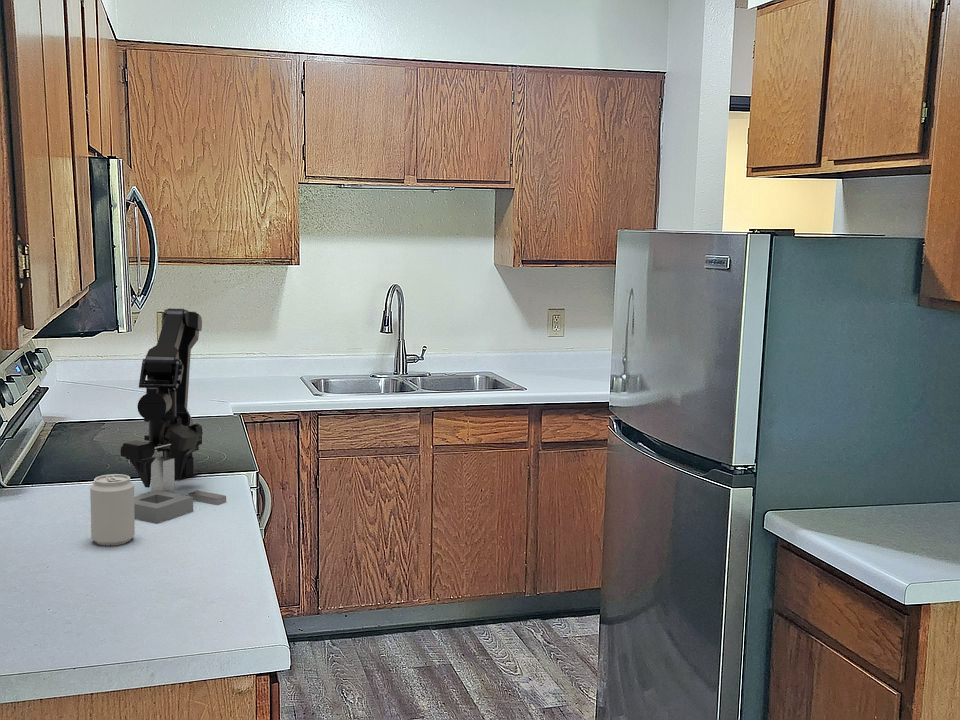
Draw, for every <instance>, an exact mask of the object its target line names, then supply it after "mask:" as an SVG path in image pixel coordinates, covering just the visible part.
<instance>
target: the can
mask: <svg viewBox="0 0 960 720" xmlns="http://www.w3.org/2000/svg"><path fill="white" fill-rule="evenodd" d="M93 481H94V482H93V483H92V485H91V486H90V488H89V489H90V490H89V491H90V492H89V493H90V495H89V496H90V534H91V535H90V538H91V540H92V541H94V542H95V543H96V544H97V545H100V546H105V545H106V547H107V546H108V547H109V546H110V545H111V546H119V545H125V544H126V542H127V543H129V542H130V541H131V540H132V539H133V538H134V536H135V533H136V531H135V530H136V526H135V520H136V519H135V515H134V496H135V484H134V483H133V482H132V481H131V477H130V475H127V474H122V473H120V474H119V473H112V474H104V475H100V476H96V477H95V478H94V479H93ZM128 541H129V542H128Z"/></svg>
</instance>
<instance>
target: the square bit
mask: <svg viewBox="0 0 960 720" xmlns="http://www.w3.org/2000/svg"><path fill="white" fill-rule="evenodd" d="M155 458H156V459H155V460H154V461H153V462H152V464H151V483H150V492H151V491H155V490H159V491H164V492H169V493H175V494H176V492H175V490H176V489H175V480H176V479H175V478H174V458H169V457H163V455H162V456H159V457H155Z"/></svg>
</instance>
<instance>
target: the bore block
mask: <svg viewBox="0 0 960 720" xmlns="http://www.w3.org/2000/svg"><path fill="white" fill-rule="evenodd" d="M192 512H194V501H193V497H191V496H188V495H184V494H180V493H179V494H178V493H176V492H175V493H169V492H164V491H159V490H155V491H151V490H150V491H148V492H146V493H142V494H137V495H134V515H135V520H139V521H142V522H143V521H144V522H148V523H154V524H159V523H162V522H166V521H168V520H171V519H175V518H177V517H180V516H184V515H186V514H189V513H192Z"/></svg>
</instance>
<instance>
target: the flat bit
mask: <svg viewBox="0 0 960 720" xmlns="http://www.w3.org/2000/svg"><path fill="white" fill-rule="evenodd" d="M187 496H191V497H193V502H199V503H204V504H209V505H214V506H219V505H222V504H225V503H227V495H225V494H219V493H215V492H208V491H204V490H198V489H196V490H193V491H191V492H188V493H187Z"/></svg>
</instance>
